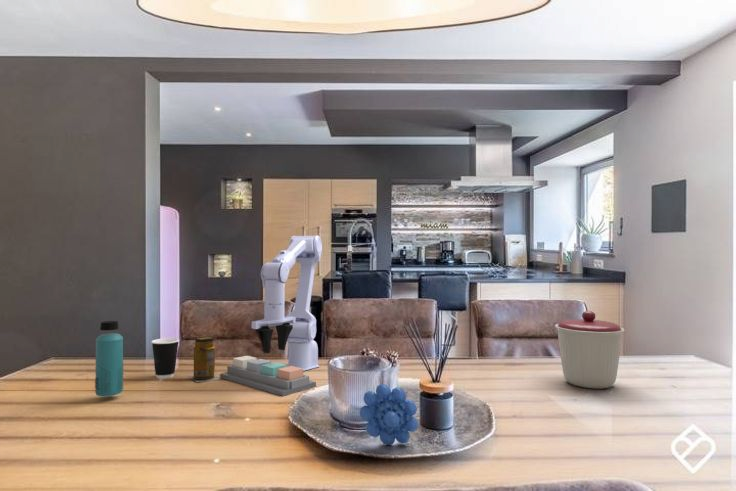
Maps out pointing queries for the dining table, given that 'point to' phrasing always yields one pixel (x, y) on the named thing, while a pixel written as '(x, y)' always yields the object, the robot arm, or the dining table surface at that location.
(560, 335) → the canister
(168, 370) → the dixie cup
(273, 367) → the teal key
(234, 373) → the keypad
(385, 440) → the blue flower
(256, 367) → the slate key
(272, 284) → the robot arm
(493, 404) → the dining table surface
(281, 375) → the terracotta key
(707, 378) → the dining table surface
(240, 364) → the cream key
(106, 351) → the beverage bottle
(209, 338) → the condiment
